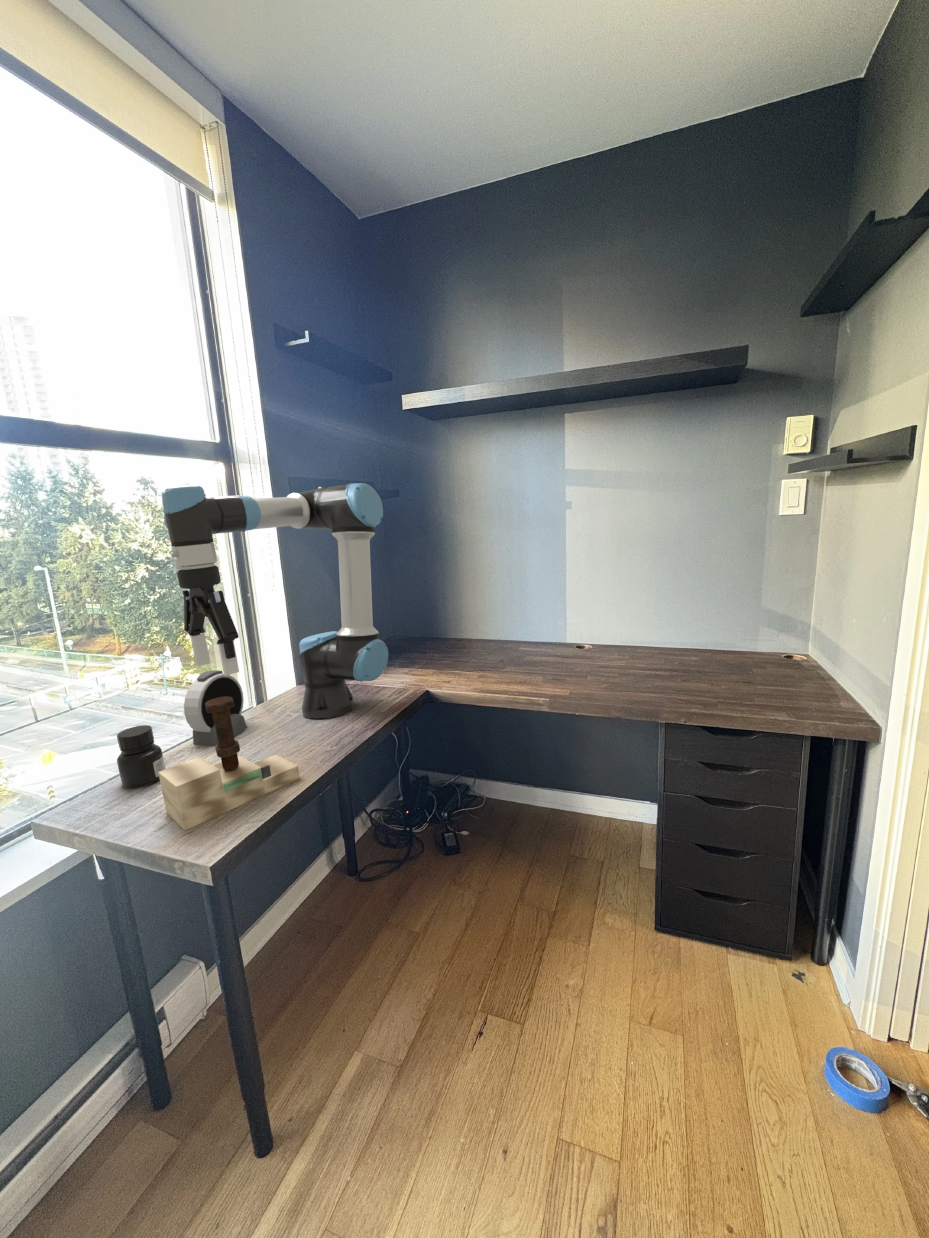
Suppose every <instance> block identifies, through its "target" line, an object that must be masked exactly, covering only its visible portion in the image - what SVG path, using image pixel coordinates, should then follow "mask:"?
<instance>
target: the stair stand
mask: <svg viewBox="0 0 929 1238" xmlns="http://www.w3.org/2000/svg"><path fill="white" fill-rule="evenodd" d="M237 756H238V761H239V766H238V767H237V768H236V769H235V770H233V771H228V770H227V772H226V771H224V769H223V767H222V762H220V763H217V764H211V762H209V761H207V760H206V759H204V758H203V757H201V756H197V757H195V758H193V759H190V760H187V761H185V762H182V763H179V764H177V765H173V766H171V767H167V768H165V770H162V771H160V772H158V774H159V778H160V780H159V782H160V788H161V792H162V796H163V797H162V798H163V802H164V805H165V811H166V814H167V815H169V817H170V818H171V819H172V820H173V821H174V822H176V824H178V826H180V827H181V828H182V829H183V830H184V831H187V830H189V829H192V828H193V827H196V826H198V825H200V824H203V823H205V822H207V821H209V820H211V819H214V818H215V817H218V816H220V815H222V814H225V813H226V812H229V811H231V810H233V809H235V808H237V807H240V806H243V805H245V804H247V803H249V802H251V801H253V800H255V799H258V798H260V797H262V796H264V795H267V794H270V793H271V792H273V791H275V790H277V789H279V788H282V787H284V786H287V785H288V784H291V783H293V782H294V781H295V782H296V781H297V780H299V779H301V778H300V771H299V766H298V764H296V763H294V762H291V761H290V760H287V759H286V758H283V757H282V756H280V755H278V754H274V755H271V756H268V757H266V758H264V759H261V760H258V761H255V762H252V761H250V760H248V759H247V758H246V757H244V756H242V755H237Z"/></svg>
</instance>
